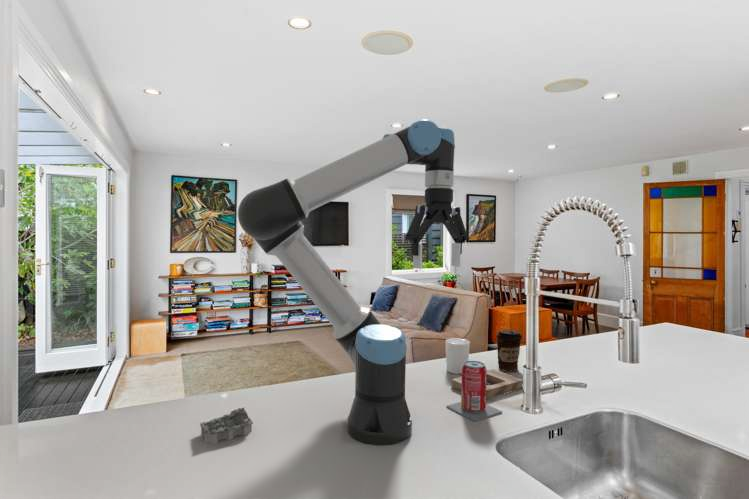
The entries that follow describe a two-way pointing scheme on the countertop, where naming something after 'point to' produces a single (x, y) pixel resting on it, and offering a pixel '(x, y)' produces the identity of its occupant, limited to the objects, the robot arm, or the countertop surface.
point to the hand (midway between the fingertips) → (437, 267)
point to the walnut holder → (495, 383)
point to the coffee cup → (508, 349)
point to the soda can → (473, 386)
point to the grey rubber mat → (474, 417)
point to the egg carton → (217, 429)
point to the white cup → (456, 354)
